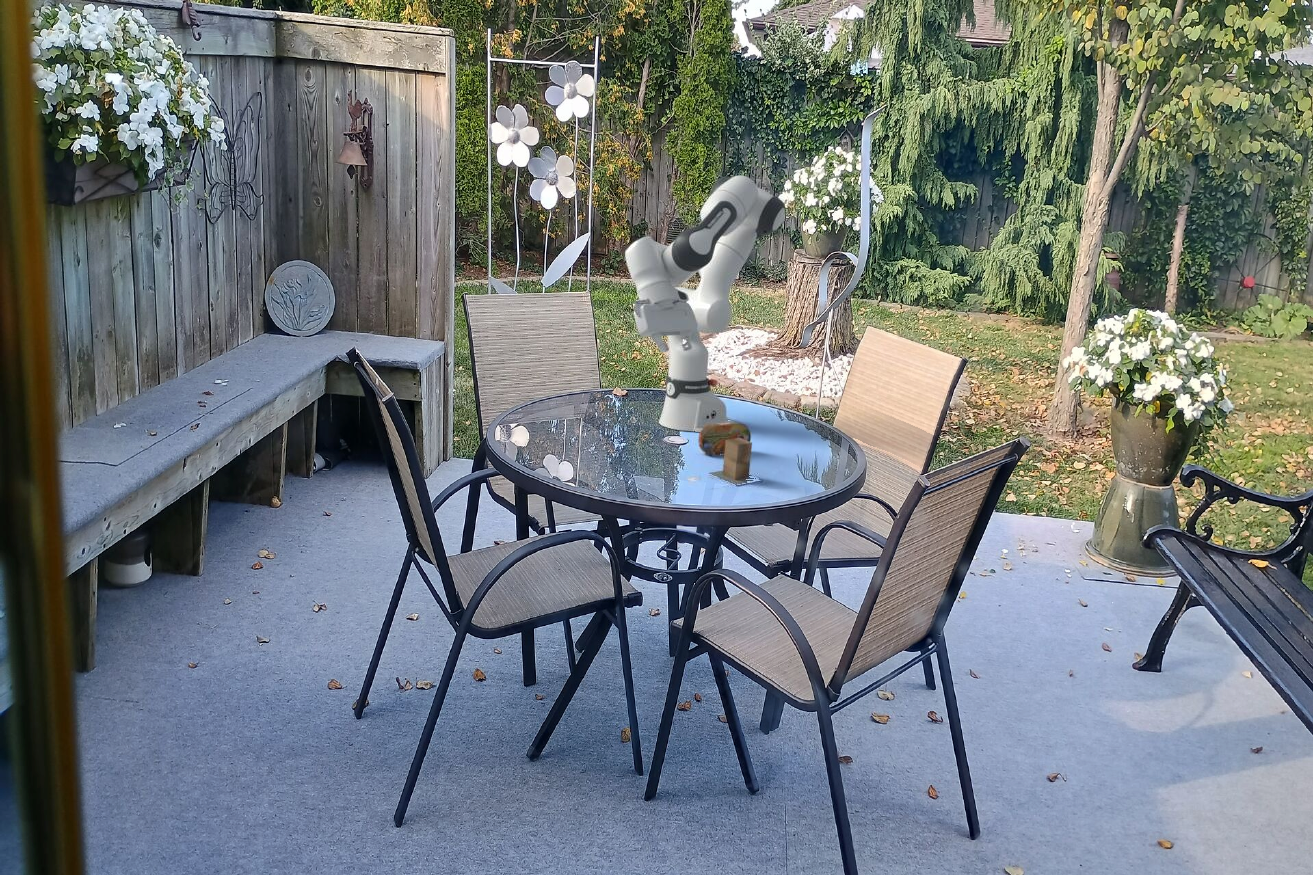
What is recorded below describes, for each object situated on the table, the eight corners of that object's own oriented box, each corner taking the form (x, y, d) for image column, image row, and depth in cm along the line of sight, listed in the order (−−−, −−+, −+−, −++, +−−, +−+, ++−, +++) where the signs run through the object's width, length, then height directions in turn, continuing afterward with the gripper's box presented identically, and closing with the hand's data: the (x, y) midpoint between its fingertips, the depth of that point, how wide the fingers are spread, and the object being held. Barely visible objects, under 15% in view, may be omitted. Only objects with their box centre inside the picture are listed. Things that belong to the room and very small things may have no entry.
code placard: (707, 476, 275) (707, 475, 275) (731, 487, 268) (731, 485, 268) (685, 480, 271) (685, 478, 270) (709, 491, 264) (709, 489, 264)
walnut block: (736, 472, 277) (739, 437, 275) (748, 477, 274) (752, 442, 272) (722, 474, 275) (725, 439, 272) (734, 480, 271) (738, 444, 269)
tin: (701, 457, 290) (704, 426, 288) (695, 453, 293) (698, 423, 290) (749, 453, 297) (753, 423, 295) (743, 450, 300) (746, 420, 297)
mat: (735, 470, 281) (735, 468, 281) (761, 481, 273) (762, 479, 273) (709, 474, 276) (709, 472, 275) (735, 486, 268) (735, 484, 268)
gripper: (640, 294, 266) (659, 347, 264) (691, 294, 282) (710, 344, 280) (622, 305, 270) (641, 357, 268) (673, 304, 286) (691, 353, 284)
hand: (676, 350), depth 274 cm, fingers open, 8 cm apart
